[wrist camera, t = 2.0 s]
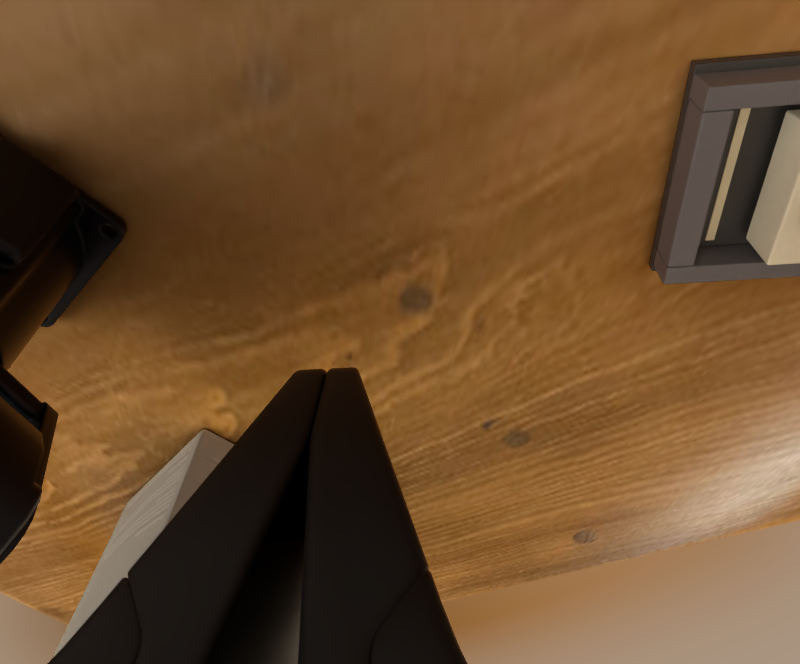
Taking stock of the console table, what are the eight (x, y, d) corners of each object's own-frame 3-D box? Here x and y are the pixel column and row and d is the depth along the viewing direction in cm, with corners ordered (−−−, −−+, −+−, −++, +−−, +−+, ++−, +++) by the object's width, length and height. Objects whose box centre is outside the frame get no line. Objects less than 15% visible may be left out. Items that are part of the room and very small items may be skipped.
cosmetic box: (227, 542, 35) (127, 919, 23) (112, 490, 32) (-72, 894, 20) (316, 479, 31) (252, 897, 19) (194, 413, 28) (26, 860, 16)
